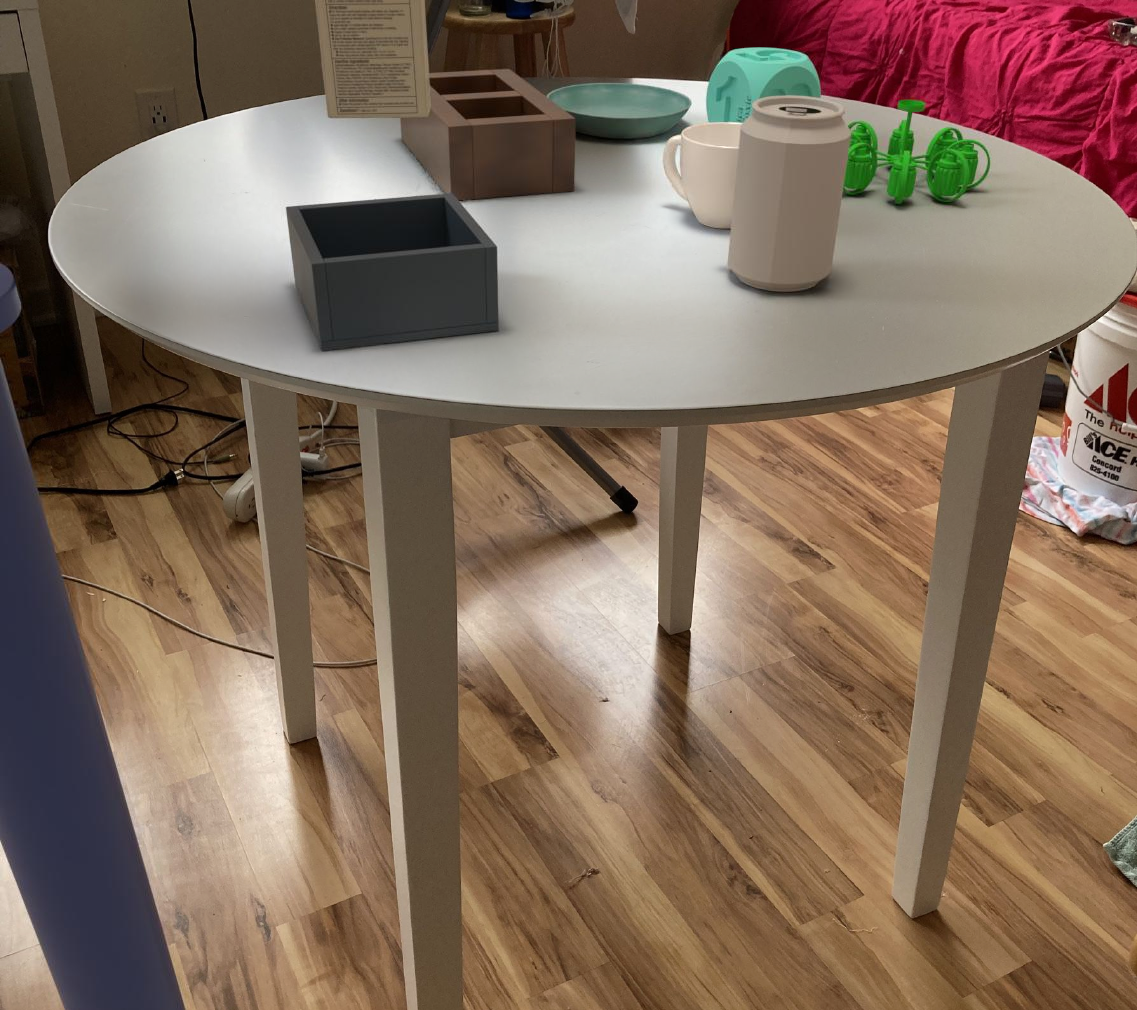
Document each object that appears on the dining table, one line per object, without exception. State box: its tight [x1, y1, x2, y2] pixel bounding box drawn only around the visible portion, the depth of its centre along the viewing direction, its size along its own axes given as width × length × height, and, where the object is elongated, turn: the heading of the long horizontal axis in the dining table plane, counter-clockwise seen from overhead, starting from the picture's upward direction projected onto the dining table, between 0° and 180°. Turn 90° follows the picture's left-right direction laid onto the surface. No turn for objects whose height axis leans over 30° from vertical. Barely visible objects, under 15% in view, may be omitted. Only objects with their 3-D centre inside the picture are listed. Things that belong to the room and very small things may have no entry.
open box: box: [285, 193, 500, 351], centre depth 79 cm, size 12×12×6 cm
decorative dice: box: [705, 47, 822, 123], centre depth 114 cm, size 8×8×8 cm
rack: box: [399, 68, 576, 201], centre depth 107 cm, size 11×20×6 cm, turn 19°
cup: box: [662, 122, 742, 230], centre depth 95 cm, size 8×10×7 cm
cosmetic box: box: [314, 0, 431, 119], centre depth 69 cm, size 6×4×12 cm
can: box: [726, 95, 852, 293], centre depth 83 cm, size 8×8×12 cm
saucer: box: [546, 82, 693, 140], centre depth 120 cm, size 15×15×3 cm
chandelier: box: [843, 99, 991, 205], centre depth 103 cm, size 15×15×7 cm
